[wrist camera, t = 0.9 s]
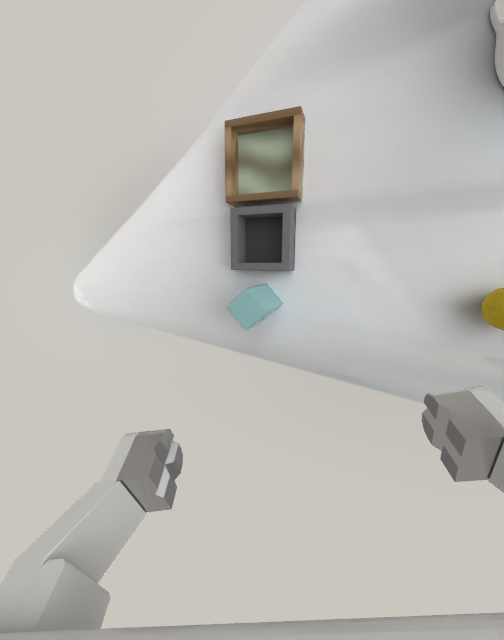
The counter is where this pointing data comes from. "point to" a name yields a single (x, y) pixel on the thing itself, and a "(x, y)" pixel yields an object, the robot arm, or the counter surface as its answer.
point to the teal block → (254, 305)
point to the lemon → (494, 308)
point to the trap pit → (263, 237)
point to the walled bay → (265, 158)
